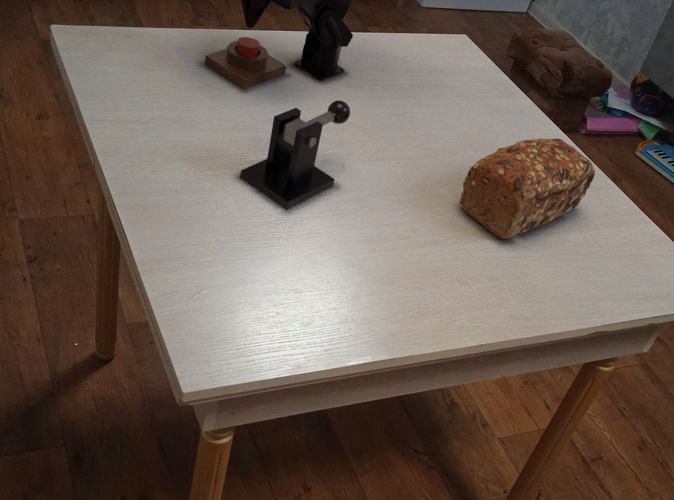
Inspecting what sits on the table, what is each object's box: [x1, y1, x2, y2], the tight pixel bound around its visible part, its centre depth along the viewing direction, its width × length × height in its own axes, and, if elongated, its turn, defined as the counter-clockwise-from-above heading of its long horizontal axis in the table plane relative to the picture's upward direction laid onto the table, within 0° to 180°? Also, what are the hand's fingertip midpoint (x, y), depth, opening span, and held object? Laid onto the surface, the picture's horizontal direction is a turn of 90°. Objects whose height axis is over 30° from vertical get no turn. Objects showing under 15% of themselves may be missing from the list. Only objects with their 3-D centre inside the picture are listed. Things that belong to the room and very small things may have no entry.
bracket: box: [239, 107, 335, 210], centre depth 114 cm, size 10×9×10 cm
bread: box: [459, 137, 596, 239], centre depth 121 cm, size 19×11×10 cm, turn 130°
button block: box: [204, 40, 287, 90], centre depth 136 cm, size 10×9×4 cm
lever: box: [283, 99, 351, 146], centre depth 114 cm, size 12×3×3 cm, turn 140°
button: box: [237, 36, 261, 57], centre depth 135 cm, size 4×4×2 cm
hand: (250, 26), depth 132 cm, fingers closed
